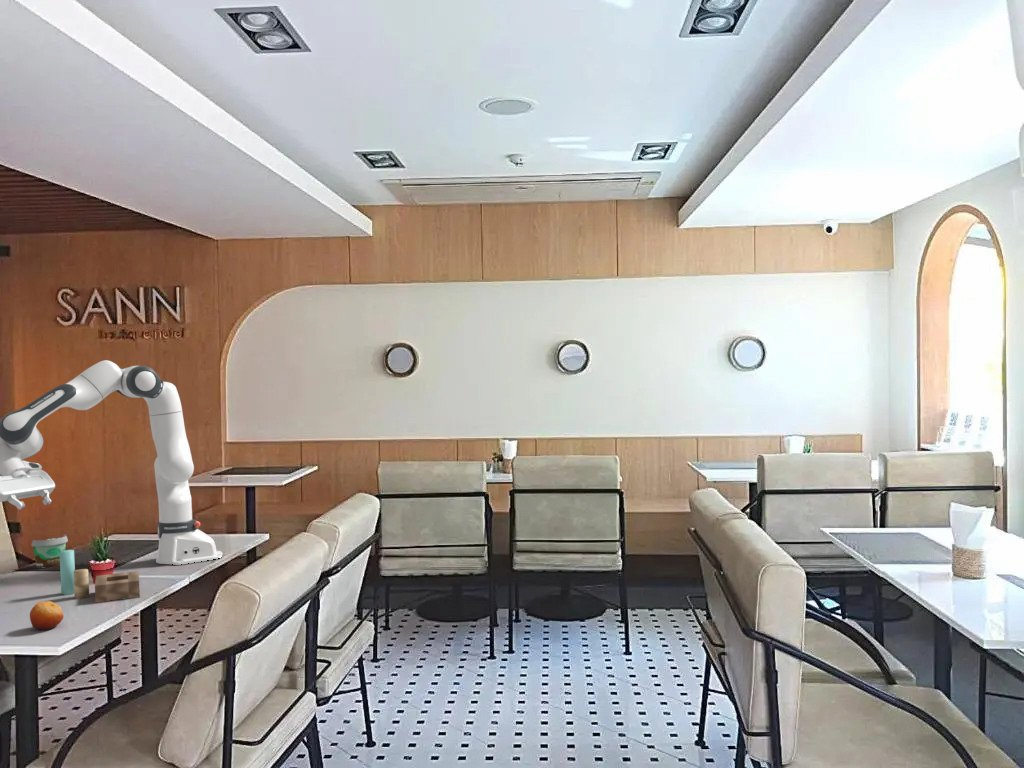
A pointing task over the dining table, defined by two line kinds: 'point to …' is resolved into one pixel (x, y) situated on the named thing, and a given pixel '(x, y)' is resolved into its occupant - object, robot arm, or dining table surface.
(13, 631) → the dining table surface
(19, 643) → the dining table surface
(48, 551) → the food container
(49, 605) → the fruit
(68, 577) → the long pin
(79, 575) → the short pin
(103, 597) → the hole block
